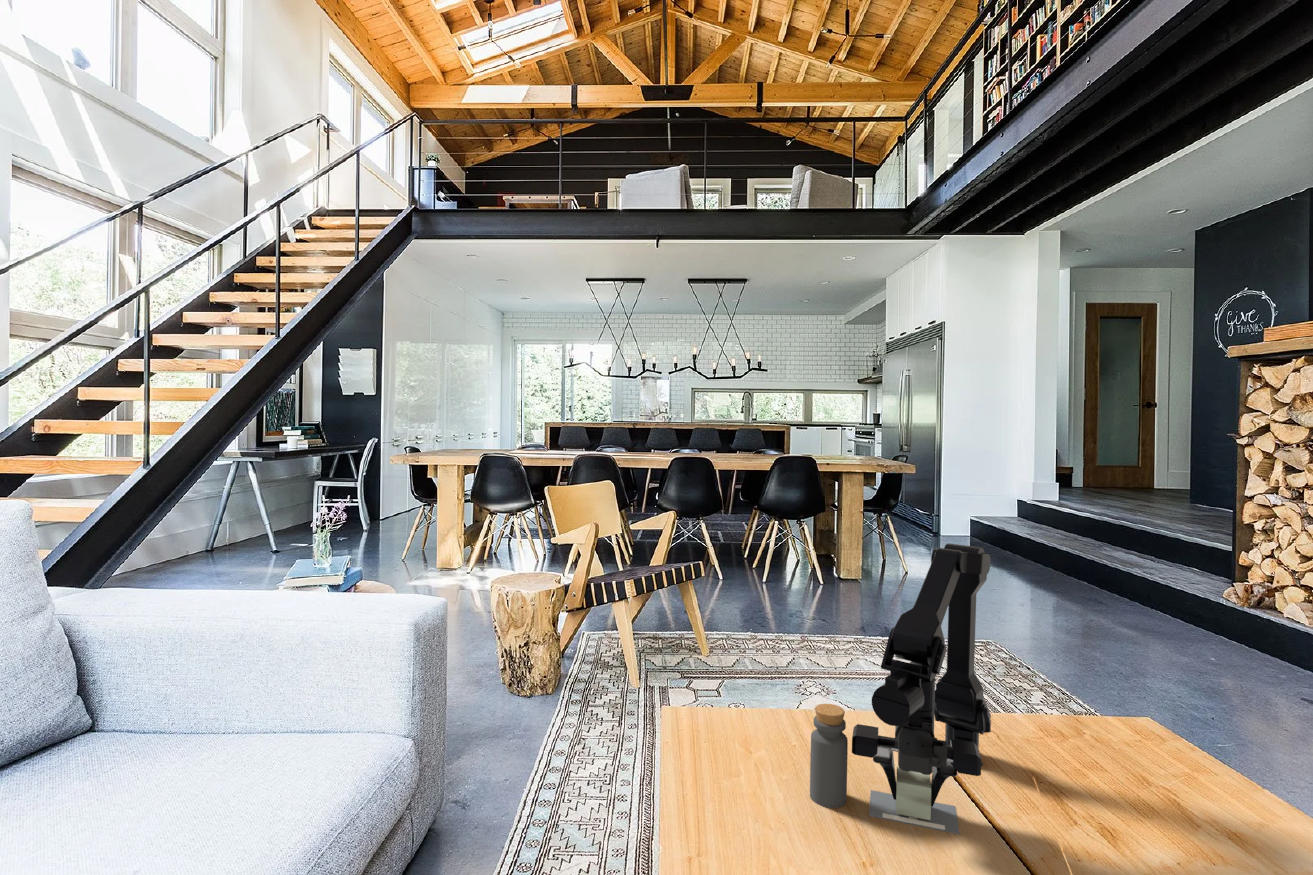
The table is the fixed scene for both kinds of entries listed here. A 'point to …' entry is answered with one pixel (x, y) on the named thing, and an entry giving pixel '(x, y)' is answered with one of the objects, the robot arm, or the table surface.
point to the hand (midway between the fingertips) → (912, 801)
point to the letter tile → (940, 817)
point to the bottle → (829, 757)
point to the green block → (913, 794)
